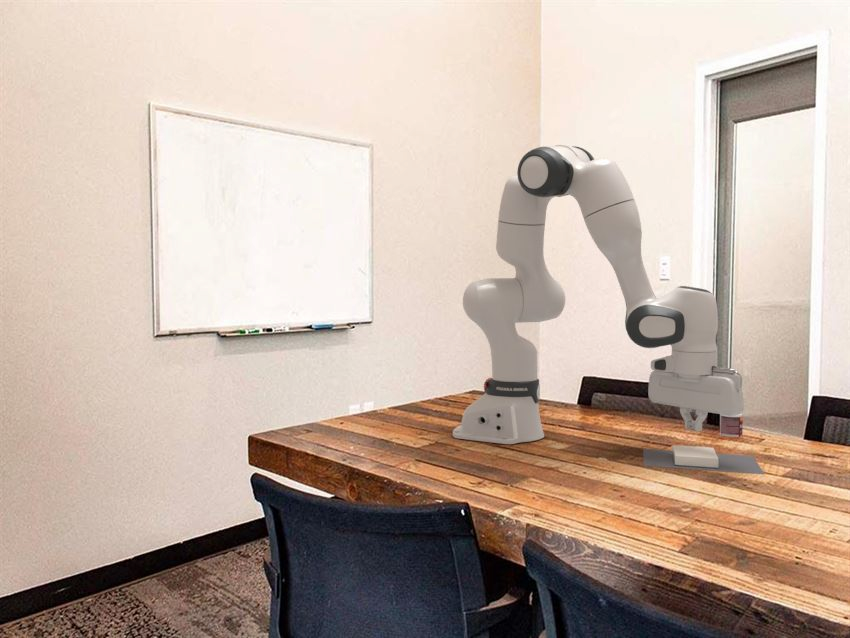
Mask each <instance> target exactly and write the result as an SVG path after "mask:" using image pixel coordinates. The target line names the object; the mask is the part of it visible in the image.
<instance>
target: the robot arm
mask: <svg viewBox="0 0 850 638" xmlns="http://www.w3.org/2000/svg"><path fill="white" fill-rule="evenodd" d="M502 191H503V192H502V195H501V200H500V205H499V211H498V220H497V221H498V222H497V230H496V232H497V233H496V242H495V243H496V244H495V249H496V252H497V255H498V256H499V258H500V259H502V260H503V261H504V262H506V263H507V264H509V265H511V266H513V267H514V269H515V277H510V278H508V277H507V278H505V277H501V278H496V277H495V278H493V277H490V278H486V279H480V280H479V279H478V280H476V281H471V282H470V283H469V284H468V285H467V286H466V289H464V292H463V296H462V306H463V310H464V312H465V314H466V315H467V317H468V318H469V319H470V320H471V321H472V322H473V323H474V324H476V325H477V326H478V327H479V328H480V330H481V331H482V332H483V333H484V335H485V337H486V340H487V342H488V344H489V347H490V348H489V349H490V355H491V375H492V376H491V377H488V378H487V379H486V380H485V382H484V383H483V390H484V392H485V393H484V394H482V395H481V396H479V398H477V399H476V400H475V401H473V402H472V403H471V404H470V405H468V406H467V407H466V408H465V409H464V412H463V414H462V417H461V418H462V419H461V425H458V426H457V427H455V428H454V429H453V431H452V437H453V438H455V439H460V440H461V439H462V440H467V441H475V442H485V443H492V444H493V443H495V444H501V445H502V444H503V445H514V444H518V443H527V442H533V441H534V442H535V441H538V440H541V439H543V438H545V432H544V430H543V426H542V421H541V417H540V416H541V415H540V407H539V402H540V399H541V397H540V396H541V388H540V387H541V385H540V379H539V378H538V350H537V348H536V346H535V345H534V343H533V342H531V341H530V340H528V339H527V338H525V337H523V336H521V335H519V333H518V331H517V328H516V324H517V323H519V324H521V323H541V322H546V321H550V320H554V319H557V318H559V317H560V315H561V314H562V312H563V311H564V309H565V305H566V293H565V291H564V288H563V287H562V285H561V284H560V283H559V282H558V281H557V280H556V279H555V278H554V277H553V276H552V275H551V273H550V272H549V270H548V267H547V266H546V262H545V257H544V242H545V230H546V229H545V228H546V219H547V218H546V217H547V210H548V205H549V202H550V201H551V200H552V199H554V198H561V197H565V196H571V197H573V199H574V200H576V202H577V204H578V206H579V208H580V212H581V214H582V217H583V221H584V223H585V226H586V229H587V230H588V233H589V235H590V236H591V239H592V240H593V242H594V243H595V245H596V247H597V248H598V250H599V251H600V252H601V253H602V255H603V256H604V257H605V258H606V259H607V261H608V263H609V264H610V265H611V267H612V269H613V271H614V274H615V276H616V279H617V281H618V284H619V286H620V289H621V293H622V296H623V298H624V302H625V306H626V307H625V308H626V309H625V310H626V311H625V319H624V322H625V323H624V324H625V330H626V332H627V336H628V337H629V339H630V340H631V341H632V342H633V343H634V344H635V345H638V346H639V347H641V348H645V349H657V348H660V347H665V346H671V355H666V356H663V357H661V358H655V359H652V360H651V361H650V368H651V370H653V371H651V372H650V374H649V377H648V389H647V390H648V391H647V392H648V398H649V400H650V401H651V403H653V404H654V403H655V404H659V405H660V404H661V405H664V406H665V405H666V406H672V407H678V408H679V413H680V416H681V417H682V419H683V421H684V429H685V430H689V431H693V432H697V433H698V432H702V431H703V423H704V422H705V419H706V418H707V417H708V413H712V414H718V415H721V414H722V415H728V416H735V415H739V414H741V413H742V412H744V410H745V405H744V404H745V402H744V393H743V375H741V373H739V372H738V371H737V370H736V369H735V368H732V367H730V368H727V367H726V368H725V367H722V366H718V353H719V352H718V350H719V349H718V346H717V343H716V342H717V340H716V338H717V334H718V330H719V321H718V320H719V319H718V318H719V317H718V316H719V315H718V305H717V299H716V297H715V295H714V294H713V293H712V292H711V291H710V290H707V289H705V288H704V289H703V288H700V287H694V286H686V285H685V286H684V285H680V286H677V287H675V289H673V290H672V291H670V292H668V293H667V294H664V295H663V296H660V297H658V298H657V297H656V295H655V294H654V291H653V288H652V286H651V282H650V280H649V277H648V274H647V271H646V268H645V265H644V262H643V258H642V234H643V232H642V231H643V230H642V223H641V217H640V214H639V213H640V212H639V209H638V206H637V205H638V204H637V203H636V199H635V197H634V194H633V192H632V190H631V188H630V185H629V182H628V180H627V179H626V178H625V176H624V174H623V172H622V171H621V168H620V167H619V165H618V164H617V163H616V162H615V161H614V160H613V159H610V158H604V157H603V158H601V157H600V158H596V159H595V158H594V156H593V155H592V154H591V153H590V152H589V151H588V150H587V149H584V148H582V147H579V146H575V145H574V146H573V145H572V146H570V145H566V144H565V145H561V144H557V145H551V146H540V147H536V148H533V149H531V150H529V151H528V152H526V153H525V154H524V155H523V156H522V158H521V159H520V161H519V163H518V166H517V174H515V175H512V176H511V177H509V178H508V179H507V180H506V182H505V184H504V187H503V190H502ZM693 410H694V411H695V415H696V416H697V417H696V419H695V420H694V419H693V417H692V416H691V413H692V412H693Z"/></svg>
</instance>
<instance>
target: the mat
mask: <svg viewBox="0 0 850 638" xmlns="http://www.w3.org/2000/svg"><path fill="white" fill-rule="evenodd" d="M716 454H717V457H718V468H705V467H691V466H677V465H675V462H674V457H673V450H667V449H666V450H665V449H654V448H653V449H652V448H642V456H643V457H642V459H643V461H642V462H643V467H652V468H653V467H654V468H655V467H656V468H670V469H684V470H697V471H698V470H699V471H710V472H711V471H712V472H726V473H740V474H752V475H754V474H755V475H764V476H765V472H764V471H763V469H762V468H761V466H760V464H759V462H758V461H757V460H756V458H755V457H754V456H753V455H746V454H745V455H744V454H731V453H729V454H728V453H718V452H717V453H716Z"/></svg>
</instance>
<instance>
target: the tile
mask: <svg viewBox="0 0 850 638" xmlns="http://www.w3.org/2000/svg"><path fill="white" fill-rule="evenodd" d="M672 451H673V457H674V462H675V465H677V466H691V467H705V468H718V457H717V454H716V451H715V448H714V447H707V446H691V445H675V444H672Z"/></svg>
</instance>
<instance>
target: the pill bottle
mask: <svg viewBox="0 0 850 638" xmlns="http://www.w3.org/2000/svg"><path fill="white" fill-rule="evenodd" d="M719 416H720V417H719V418H720V420H719V421H720V424H719V425H720V431H719V432H720V434H719V435H720V436H719V437H720V438H722V439H725V440H734V441H737V440H738V441H739V440H742V439H743V426H744V425H743V423H744V422H743V420H744V417H743V414H742V413H741V414H739V415H735V416H728V415H722V414H719Z"/></svg>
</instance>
